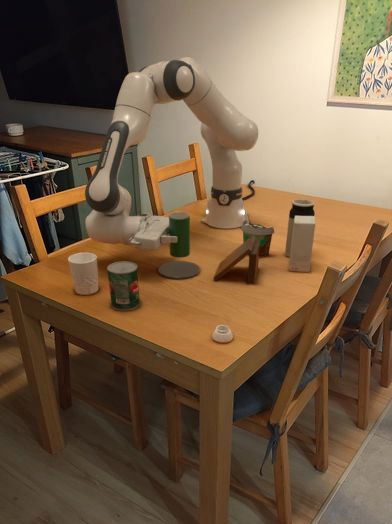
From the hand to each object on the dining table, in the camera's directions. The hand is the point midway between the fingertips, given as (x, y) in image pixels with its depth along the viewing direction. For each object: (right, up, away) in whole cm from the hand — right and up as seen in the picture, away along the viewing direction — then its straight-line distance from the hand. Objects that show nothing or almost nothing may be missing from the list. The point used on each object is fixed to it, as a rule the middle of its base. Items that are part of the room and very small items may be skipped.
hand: (180, 234), depth 140 cm
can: (0, 0, 0) cm, 0 cm away
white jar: (+11, -32, -27) cm, 43 cm away
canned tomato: (-15, -22, -12) cm, 29 cm away
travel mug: (+39, -3, +18) cm, 43 cm away
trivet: (-1, -10, +7) cm, 12 cm away
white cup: (-27, -17, -5) cm, 33 cm away
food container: (+24, -2, +19) cm, 30 cm away
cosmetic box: (+38, -8, +9) cm, 40 cm away
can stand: (+17, -11, +4) cm, 21 cm away
